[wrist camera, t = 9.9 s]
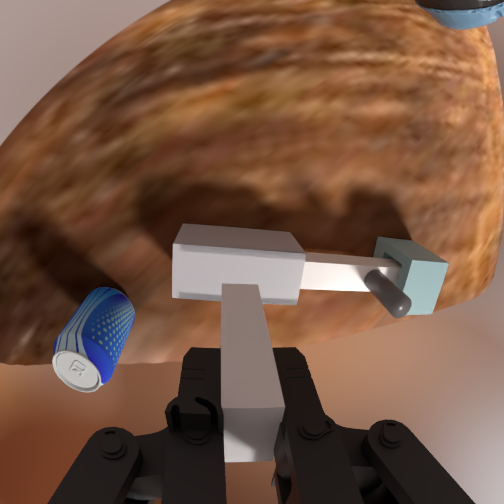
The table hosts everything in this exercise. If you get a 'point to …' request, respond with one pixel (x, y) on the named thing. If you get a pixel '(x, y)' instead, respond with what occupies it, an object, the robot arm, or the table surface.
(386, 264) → the sliding bolt with handle
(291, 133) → the table surface
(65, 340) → the beer can
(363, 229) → the table surface
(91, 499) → the robot arm
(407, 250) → the socket block
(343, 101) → the table surface
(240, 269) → the white rectangular box
